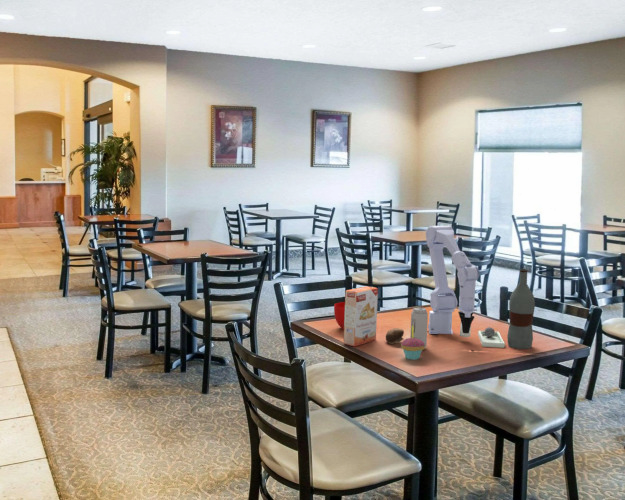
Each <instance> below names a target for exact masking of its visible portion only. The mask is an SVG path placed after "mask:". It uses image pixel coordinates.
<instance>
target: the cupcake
mask: <svg viewBox="0 0 625 500" xmlns="http://www.w3.org/2000/svg"><path fill="white" fill-rule="evenodd" d="M400 347H401V349H402V350H403V353H404V356H405V358H406V359H408V360H413V361H414V360H415V361H416V360H419V359H420V356H421V353H422V351H425V349H426V347H425V343H424V342H423V341H421V340H420V339H417V338H414V326H413V323H412V338H410V337H407V338H404V339H403V340H402V341H401V344H400Z"/></svg>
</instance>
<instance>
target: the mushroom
mask: <svg viewBox="0 0 625 500" xmlns="http://www.w3.org/2000/svg"><path fill="white" fill-rule="evenodd" d="M404 333H405V331H404V330H403V328H400V327H395V328H391V329H389V330H388V331H386V334H385V341H386V342H387V343H388V344H390V345H391V344H396V343H397V344H398V343H400V342H403V341H404V340H405V338H403V336H404Z"/></svg>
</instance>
